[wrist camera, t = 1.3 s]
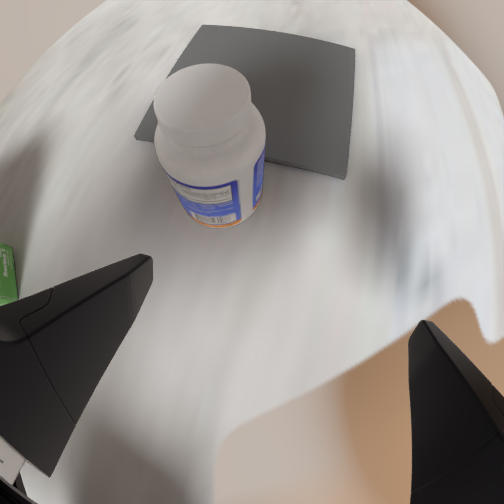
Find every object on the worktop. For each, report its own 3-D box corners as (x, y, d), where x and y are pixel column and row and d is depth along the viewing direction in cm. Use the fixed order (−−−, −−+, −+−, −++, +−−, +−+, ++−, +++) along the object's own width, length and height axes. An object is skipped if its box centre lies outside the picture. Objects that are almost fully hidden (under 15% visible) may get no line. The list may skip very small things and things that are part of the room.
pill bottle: (225, 146, 21) (211, 39, 12) (279, 194, 20) (297, 91, 11) (166, 193, 20) (114, 99, 11) (217, 248, 19) (187, 170, 10)
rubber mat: (344, 179, 20) (346, 176, 20) (136, 139, 21) (134, 136, 21) (354, 52, 24) (355, 49, 24) (202, 28, 25) (202, 24, 25)
